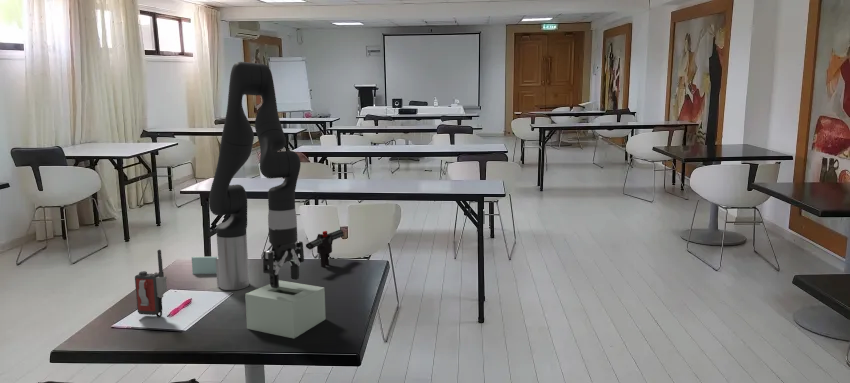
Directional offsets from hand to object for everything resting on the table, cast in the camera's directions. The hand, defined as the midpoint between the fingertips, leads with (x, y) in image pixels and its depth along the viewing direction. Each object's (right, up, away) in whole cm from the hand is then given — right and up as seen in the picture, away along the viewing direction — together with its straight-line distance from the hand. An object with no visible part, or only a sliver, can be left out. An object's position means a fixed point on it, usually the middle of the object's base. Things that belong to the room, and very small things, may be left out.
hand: (285, 283), depth 173 cm
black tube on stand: (+3, -4, +54) cm, 54 cm away
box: (0, -12, +2) cm, 12 cm away
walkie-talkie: (-40, -11, +9) cm, 43 cm away
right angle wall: (-37, -4, +54) cm, 65 cm away
